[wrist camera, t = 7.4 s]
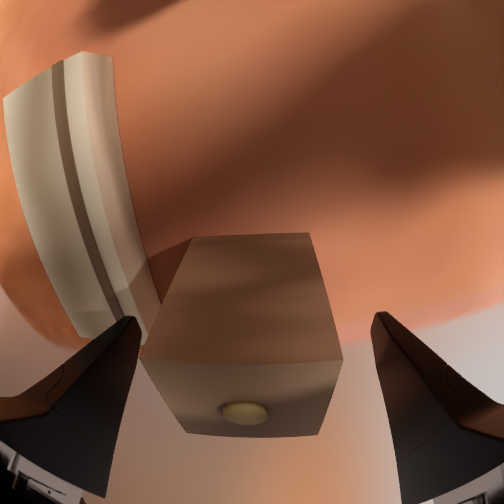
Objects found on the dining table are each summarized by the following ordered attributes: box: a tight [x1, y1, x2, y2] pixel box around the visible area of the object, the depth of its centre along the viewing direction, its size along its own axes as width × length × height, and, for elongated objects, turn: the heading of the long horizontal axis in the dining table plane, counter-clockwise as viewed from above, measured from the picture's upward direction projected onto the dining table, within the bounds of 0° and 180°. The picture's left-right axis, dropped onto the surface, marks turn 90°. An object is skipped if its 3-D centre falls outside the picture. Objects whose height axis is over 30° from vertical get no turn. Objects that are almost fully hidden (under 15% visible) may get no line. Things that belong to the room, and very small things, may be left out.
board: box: [3, 51, 161, 346], centre depth 9 cm, size 4×12×2 cm, turn 4°
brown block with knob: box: [139, 233, 343, 438], centre depth 9 cm, size 4×4×6 cm
